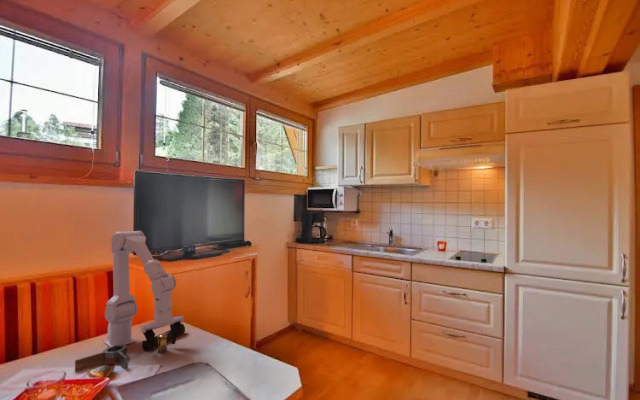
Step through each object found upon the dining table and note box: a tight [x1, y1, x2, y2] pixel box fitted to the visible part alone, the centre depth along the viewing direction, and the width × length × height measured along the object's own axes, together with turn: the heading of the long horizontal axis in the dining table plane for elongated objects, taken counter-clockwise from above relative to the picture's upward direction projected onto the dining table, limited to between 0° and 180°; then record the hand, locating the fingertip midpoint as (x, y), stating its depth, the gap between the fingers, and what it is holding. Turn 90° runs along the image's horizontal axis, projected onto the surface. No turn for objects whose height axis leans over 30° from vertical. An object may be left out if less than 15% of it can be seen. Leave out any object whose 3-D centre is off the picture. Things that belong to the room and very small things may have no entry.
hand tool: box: [141, 323, 186, 352], centre depth 120 cm, size 19×4×5 cm, turn 156°
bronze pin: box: [156, 332, 168, 355], centre depth 111 cm, size 4×4×6 cm
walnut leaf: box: [74, 350, 128, 373], centre depth 103 cm, size 6×14×4 cm, turn 141°
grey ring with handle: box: [102, 345, 129, 370], centre depth 103 cm, size 14×6×4 cm, turn 50°
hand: (162, 346), depth 111 cm, fingers open, 7 cm apart
